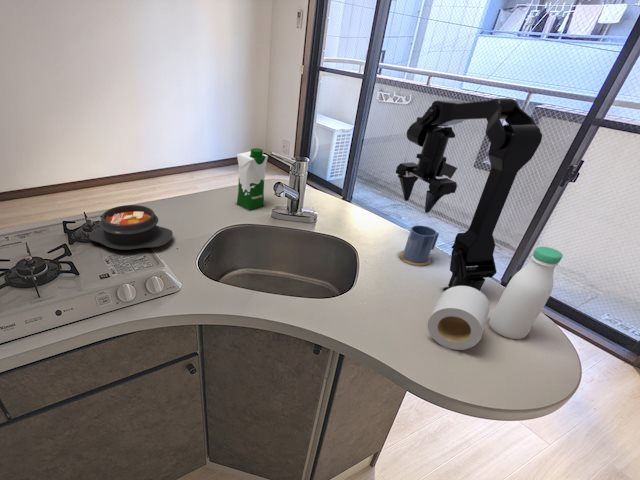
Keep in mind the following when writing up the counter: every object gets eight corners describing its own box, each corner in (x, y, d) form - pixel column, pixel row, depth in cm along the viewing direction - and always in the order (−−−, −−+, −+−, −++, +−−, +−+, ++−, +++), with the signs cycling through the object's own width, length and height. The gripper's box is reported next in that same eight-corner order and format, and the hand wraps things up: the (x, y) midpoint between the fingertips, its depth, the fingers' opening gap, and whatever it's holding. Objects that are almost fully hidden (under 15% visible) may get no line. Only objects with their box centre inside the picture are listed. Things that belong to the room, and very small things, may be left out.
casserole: (78, 250, 114) (71, 223, 109) (106, 223, 128) (101, 199, 124) (161, 259, 111) (158, 232, 106) (180, 230, 126) (178, 205, 121)
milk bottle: (524, 345, 85) (572, 265, 73) (485, 330, 89) (524, 252, 77) (528, 327, 90) (574, 250, 78) (491, 314, 94) (529, 238, 82)
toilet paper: (432, 315, 93) (447, 279, 87) (479, 331, 88) (497, 295, 82) (421, 337, 86) (436, 301, 80) (471, 357, 82) (490, 319, 76)
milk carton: (249, 211, 139) (251, 153, 127) (233, 203, 145) (233, 147, 133) (267, 206, 144) (271, 149, 132) (251, 198, 149) (253, 143, 137)
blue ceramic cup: (412, 264, 111) (421, 237, 106) (398, 253, 116) (405, 226, 111) (439, 260, 113) (449, 233, 108) (423, 249, 118) (432, 223, 114)
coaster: (436, 263, 113) (437, 262, 112) (411, 267, 110) (412, 266, 110) (417, 249, 119) (417, 248, 119) (393, 253, 117) (393, 252, 117)
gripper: (483, 159, 101) (461, 216, 110) (433, 141, 116) (418, 192, 125) (448, 162, 98) (429, 220, 108) (401, 143, 113) (388, 196, 122)
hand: (416, 206), depth 115 cm, fingers open, 9 cm apart
